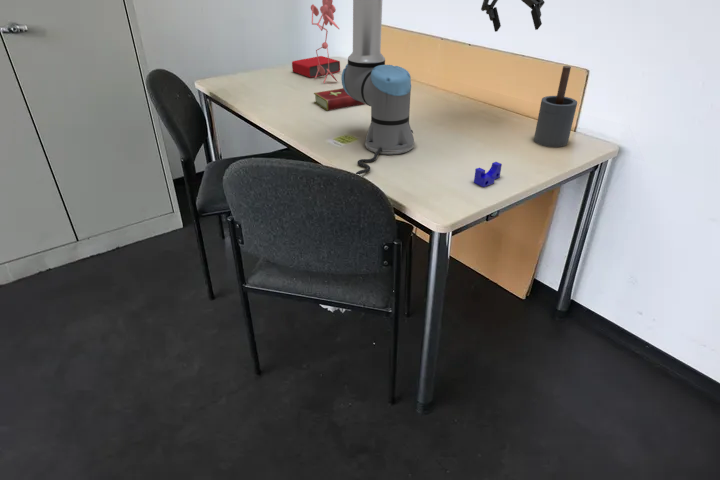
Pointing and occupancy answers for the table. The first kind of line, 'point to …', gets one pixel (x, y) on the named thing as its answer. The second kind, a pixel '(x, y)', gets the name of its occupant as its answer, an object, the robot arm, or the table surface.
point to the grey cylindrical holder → (555, 121)
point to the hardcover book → (335, 99)
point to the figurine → (328, 16)
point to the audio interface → (315, 66)
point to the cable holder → (487, 175)
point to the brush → (563, 85)
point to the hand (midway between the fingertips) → (518, 28)
